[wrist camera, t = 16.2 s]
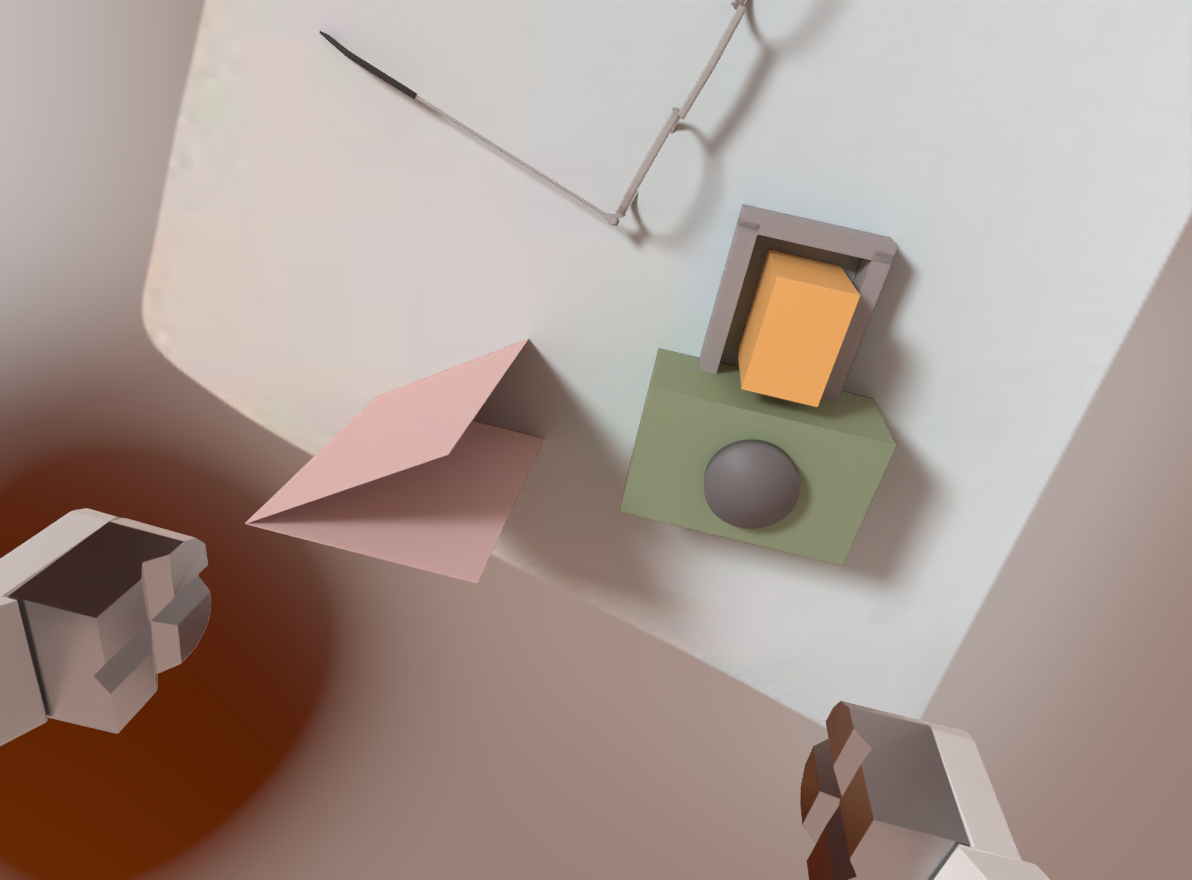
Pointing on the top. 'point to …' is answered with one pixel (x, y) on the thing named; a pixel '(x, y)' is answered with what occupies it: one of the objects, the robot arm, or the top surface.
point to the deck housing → (764, 423)
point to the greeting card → (414, 476)
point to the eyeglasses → (667, 128)
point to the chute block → (795, 327)
